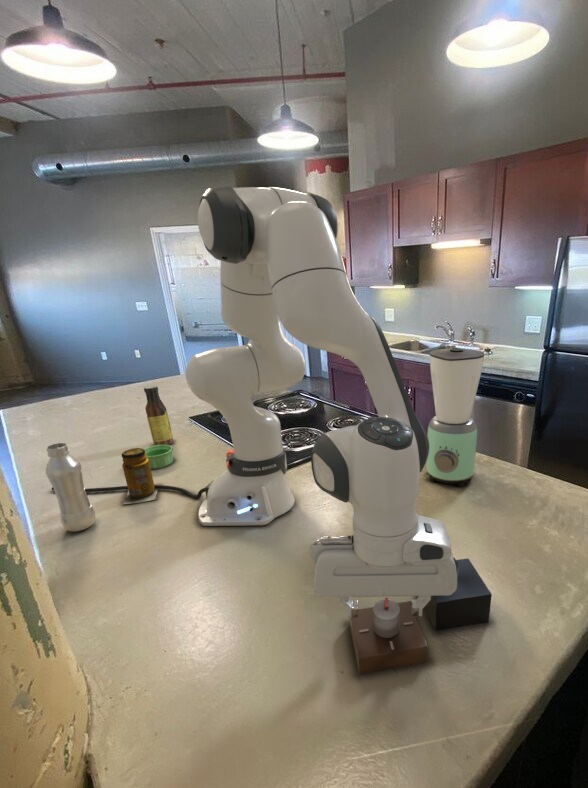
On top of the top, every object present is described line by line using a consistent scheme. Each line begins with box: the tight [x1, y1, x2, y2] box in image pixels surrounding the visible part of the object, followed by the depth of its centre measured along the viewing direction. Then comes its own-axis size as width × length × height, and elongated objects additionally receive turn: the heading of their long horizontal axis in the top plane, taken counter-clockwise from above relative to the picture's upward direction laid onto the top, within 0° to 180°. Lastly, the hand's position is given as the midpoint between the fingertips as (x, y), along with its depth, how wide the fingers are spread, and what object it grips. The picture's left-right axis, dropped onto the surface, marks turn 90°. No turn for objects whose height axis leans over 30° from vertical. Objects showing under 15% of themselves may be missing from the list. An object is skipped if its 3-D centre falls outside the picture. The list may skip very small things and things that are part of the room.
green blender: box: [425, 347, 486, 487], centre depth 110 cm, size 19×13×35 cm
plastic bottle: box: [45, 442, 97, 532], centre depth 91 cm, size 6×7×20 cm
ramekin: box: [143, 444, 174, 470], centre depth 126 cm, size 9×9×4 cm
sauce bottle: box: [143, 385, 174, 446], centre depth 138 cm, size 6×6×20 cm
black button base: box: [424, 556, 492, 632], centre depth 69 cm, size 10×10×8 cm
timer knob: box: [372, 597, 400, 638], centre depth 62 cm, size 4×4×4 cm
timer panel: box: [349, 600, 429, 675], centre depth 63 cm, size 10×9×3 cm
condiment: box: [121, 447, 159, 505], centre depth 106 cm, size 7×8×12 cm
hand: (384, 613), depth 62 cm, fingers open, 8 cm apart
